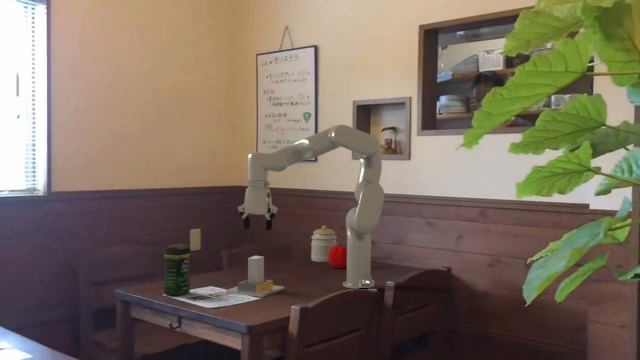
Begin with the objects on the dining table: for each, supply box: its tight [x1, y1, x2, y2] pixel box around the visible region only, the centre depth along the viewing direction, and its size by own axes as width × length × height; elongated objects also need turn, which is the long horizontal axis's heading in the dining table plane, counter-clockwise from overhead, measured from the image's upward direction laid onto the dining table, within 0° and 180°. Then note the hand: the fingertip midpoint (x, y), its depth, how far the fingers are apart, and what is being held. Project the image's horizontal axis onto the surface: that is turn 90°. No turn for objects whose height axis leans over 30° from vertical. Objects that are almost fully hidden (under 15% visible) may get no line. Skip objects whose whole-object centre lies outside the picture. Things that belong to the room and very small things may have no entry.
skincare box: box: [247, 255, 265, 284], centre depth 234 cm, size 6×4×12 cm
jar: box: [310, 225, 338, 263], centre depth 306 cm, size 13×13×18 cm
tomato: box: [328, 244, 347, 269], centre depth 286 cm, size 12×12×11 cm
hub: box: [225, 279, 285, 298], centre depth 234 cm, size 16×16×4 cm
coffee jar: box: [163, 243, 191, 296], centre depth 228 cm, size 10×8×19 cm
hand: (257, 229), depth 235 cm, fingers open, 9 cm apart
